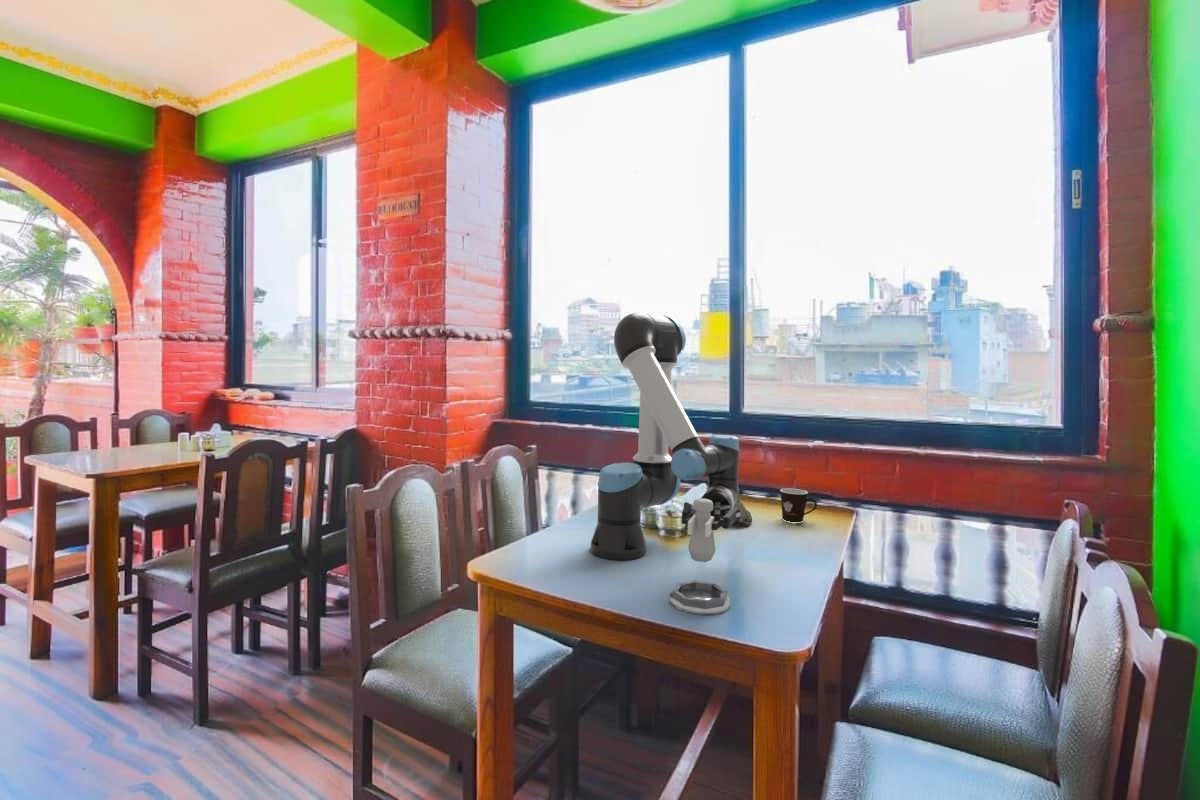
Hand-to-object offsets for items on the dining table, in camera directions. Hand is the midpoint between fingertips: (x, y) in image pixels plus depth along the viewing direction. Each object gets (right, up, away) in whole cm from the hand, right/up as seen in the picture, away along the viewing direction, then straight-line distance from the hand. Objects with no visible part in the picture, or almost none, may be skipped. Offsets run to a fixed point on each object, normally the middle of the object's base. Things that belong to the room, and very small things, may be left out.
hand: (698, 529), depth 123 cm
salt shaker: (+2, -8, +6) cm, 10 cm away
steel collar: (+1, -17, +6) cm, 18 cm away
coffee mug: (+44, -14, +73) cm, 86 cm away
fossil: (+24, -14, +70) cm, 75 cm away
